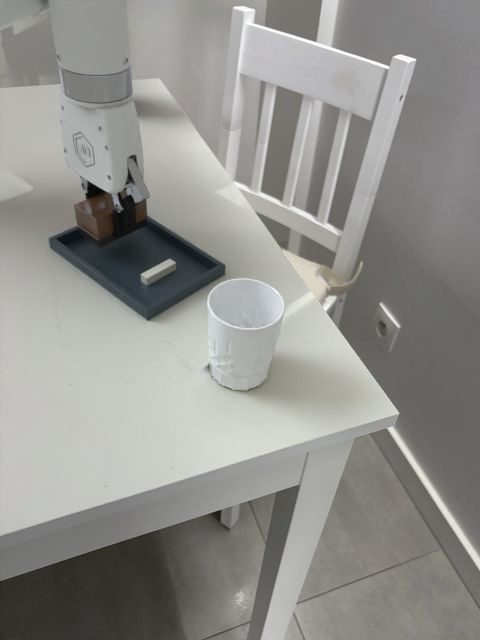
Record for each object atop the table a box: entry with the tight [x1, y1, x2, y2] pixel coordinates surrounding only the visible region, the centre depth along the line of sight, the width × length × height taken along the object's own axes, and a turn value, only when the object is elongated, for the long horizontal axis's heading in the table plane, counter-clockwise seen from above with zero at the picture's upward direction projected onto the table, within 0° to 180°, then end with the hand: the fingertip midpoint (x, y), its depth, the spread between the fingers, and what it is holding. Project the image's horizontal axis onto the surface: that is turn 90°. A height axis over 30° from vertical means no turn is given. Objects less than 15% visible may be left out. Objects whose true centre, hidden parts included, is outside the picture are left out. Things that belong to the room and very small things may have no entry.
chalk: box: [141, 259, 176, 286], centre depth 71 cm, size 1×5×1 cm, turn 139°
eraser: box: [73, 190, 148, 248], centre depth 72 cm, size 4×8×4 cm, turn 140°
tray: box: [48, 215, 226, 321], centre depth 73 cm, size 19×13×2 cm
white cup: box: [206, 277, 286, 391], centre depth 59 cm, size 8×8×10 cm
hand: (112, 223), depth 72 cm, fingers closed on eraser, 4 cm apart
